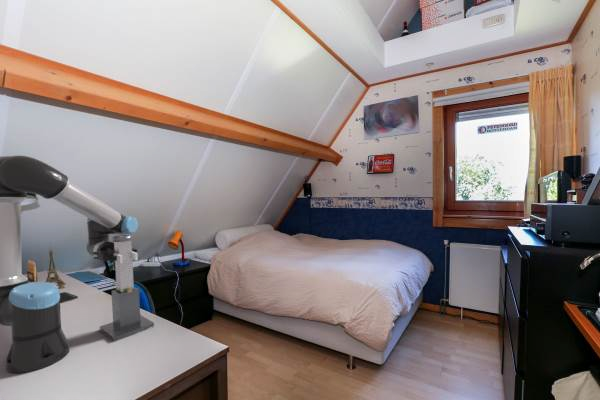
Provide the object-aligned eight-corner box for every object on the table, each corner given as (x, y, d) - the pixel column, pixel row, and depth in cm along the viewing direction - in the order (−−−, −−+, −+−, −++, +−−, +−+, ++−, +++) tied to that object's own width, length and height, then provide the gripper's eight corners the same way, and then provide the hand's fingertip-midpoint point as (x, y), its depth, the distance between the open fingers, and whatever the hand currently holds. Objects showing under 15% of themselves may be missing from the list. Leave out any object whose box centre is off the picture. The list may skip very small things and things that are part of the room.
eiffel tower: (39, 292, 158) (36, 245, 157) (41, 287, 167) (39, 243, 166) (64, 288, 164) (62, 243, 163) (65, 283, 173) (63, 240, 172)
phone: (64, 291, 156) (78, 296, 148) (64, 294, 156) (78, 298, 148) (46, 296, 149) (59, 301, 142) (46, 299, 149) (59, 304, 142)
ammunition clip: (37, 281, 179) (36, 261, 178) (33, 281, 177) (32, 262, 177) (31, 278, 185) (30, 259, 184) (27, 279, 183) (26, 259, 183)
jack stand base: (154, 326, 115) (152, 286, 114) (113, 341, 104) (111, 297, 104) (138, 317, 124) (136, 279, 123) (99, 330, 113) (97, 289, 112)
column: (138, 307, 114) (135, 235, 113) (120, 312, 109) (116, 238, 108) (131, 303, 118) (128, 234, 117) (113, 308, 113) (109, 236, 112)
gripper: (130, 255, 131) (153, 263, 116) (82, 263, 118) (102, 273, 103) (129, 238, 131) (153, 244, 116) (81, 245, 118) (101, 252, 103)
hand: (129, 258), depth 109 cm, fingers closed on column, 4 cm apart
